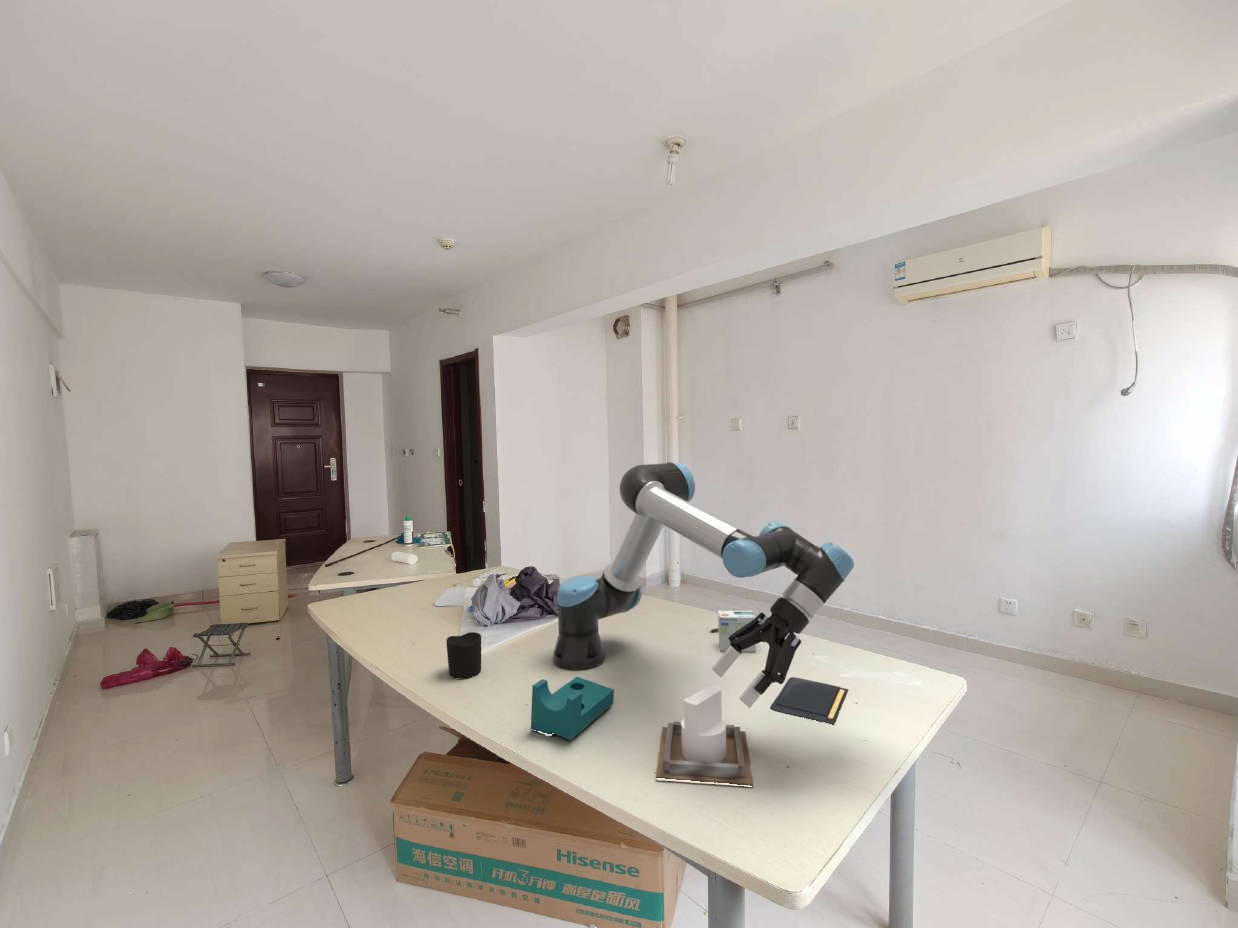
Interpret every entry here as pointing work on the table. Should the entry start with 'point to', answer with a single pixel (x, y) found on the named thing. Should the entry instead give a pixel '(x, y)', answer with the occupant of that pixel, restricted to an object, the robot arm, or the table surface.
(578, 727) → the teal l-shaped bracket
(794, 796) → the table surface
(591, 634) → the robot arm
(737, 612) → the light bulb box
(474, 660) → the pen holder
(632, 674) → the table surface
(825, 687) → the wallet
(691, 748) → the cylinder with rectangular tab
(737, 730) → the plate
